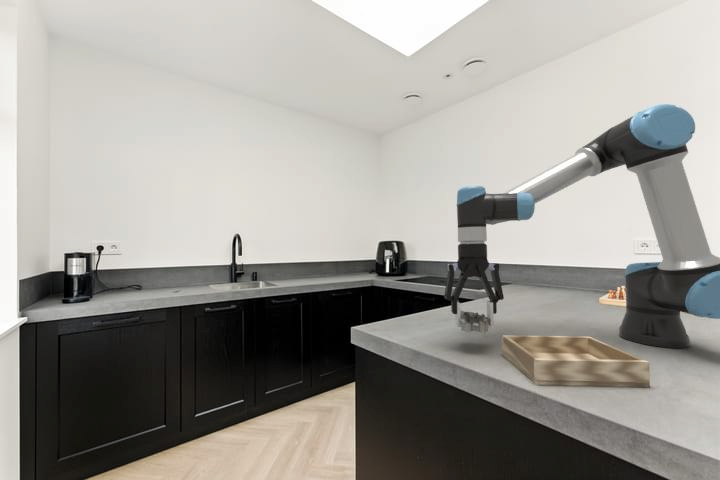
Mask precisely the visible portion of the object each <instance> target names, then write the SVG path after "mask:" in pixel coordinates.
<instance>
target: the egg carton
mask: <svg viewBox="0 0 720 480" xmlns="http://www.w3.org/2000/svg"><path fill="white" fill-rule="evenodd" d="M460 313H461V318H459V319H460V320H461V327H460V329H461V331H462V332H466V333H471V332H475V333H476V332H477V333H480V334H485V333H488V332H489V329H490V326H489V325H488V322H487V320H488V317H487V315H485V314H484V313H482V314H479V313H478V312H471V311H464V310H461V309H460Z"/></svg>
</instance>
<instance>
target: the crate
mask: <svg viewBox="0 0 720 480" xmlns="http://www.w3.org/2000/svg"><path fill="white" fill-rule="evenodd" d="M501 356H503V357H504V358H505V359H506V360H508V362H510V363H511V364H512V365H513V366H514V367H515V368H516V369H518V370H519V371H520V372H521V373H523V375H524V376H526V377H527V378H528V379H529V380H531V381H532V382H533V383H534V384H535V385H536V386H569V387H571V386H572V387H573V386H575V387H577V386H578V387H579V386H580V387H615V388H617V387H619V388H621V387H623V388H624V387H625V388H650V387H651V379H650V378H651V377H650V375H651V373H650V372H651V371H650V370H651V369H650V362H649V361H648V360H645V359H644V358H641V357H638V356H635V355H634V354H631V353H629V352H627V351H625V350H622V349H620V348H618V347H615V346H613V345H611V344H608V343H605V342H603V341H600V339H596V338H594V337H591V336H579V335H578V336H576V335H574V336H572V335H510V334H509V335H508V334H507V335H505V334H502V335H501Z"/></svg>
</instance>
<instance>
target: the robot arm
mask: <svg viewBox="0 0 720 480" xmlns="http://www.w3.org/2000/svg"><path fill="white" fill-rule="evenodd" d="M695 131H696V122H695V119H694V117H693V116H692V114H690V113H689V111H687V110H686V109H685V108H683V107H681V106H680V107H678V106H677V105H675V104H669V103H663V104H662V103H661V104H657V105H653V106H650V107H648V108H646V109H643V110H642V111H638V112H636V114H634V115H633V116H631V117H628V118H626V119H625V120H623V121H622V122H620V123H618V124H616V125H615V126H612V127H610V128H609V129H608V130H606V131H604V132H603V133H602V134H600V135H598V136H597V137H596V138H594V139H593V140H592V141H590V142H588V143H587V144H585V145H583V146H582V147H580V148H578V149H577V150H576V151H575V154H574V155H572V156H569V157H568V158H566V159H565V160H562V161H560V162H559V163H557V164H555V165H552V167H550V168H549V167H548V169H546V170H544V171H543V172H541V173H539V174H537V175H535V176H533V177H531V178H529V179H527V180H526V181H523V182H522V183H520V184H518V185H516V186H514V187H512V188H511V189H508V190H507V191H505V192H503V193H487V191H486V188H485V187H484V186H482V185H469V186H463V187H461V188H459V189H458V190H457V194H456V195H457V196H456V213H457V214H456V215H457V218H456V219H457V242H458V245H457V257H458V259H457V261H456V262H455V263H448V264H447V265H446V268H447V277H446V282H445V283H446V284H445V290H444V295H443V297H444V299H445V300H447V301H448V302H449V301H450V304H451V307H450V308H451V310H450V311H451V313H452V314H453V315H455V316H454V319H455V321H454V322H455V326H456V327H458V328H461V320H460V319H459V318H461V313H460V310H461V302H459V299H460V296H461V294H462V291H463V288H464V287H465V284H466V281H468V278H472V277H476V278H478V279H479V280H480V283H481V285H482V287H483V289H484V292H485V293H486V295H487V297H488V299H489V300H486V317H488V320H487V322H488V325H489V328H490V327H491V328H494V326H495V325H494V322H495V321H494V315H496V314H497V312H498V311H497V303H498V302H499V301H503V300H504V299H505V298H504V297H505V296H504V292H503V287H502V282H501V278H500V264H499V263H496V262H489V260H488V246H487V245H488V244H486V243H485V242H487V240H488V237H487V225H491V226H494V225H497V224H500V223H507V222H510V221H511V222H512V221H514V222H515V221H517V222H520V221H529V220H530V219H531V218H533V215H534V213H535V208H536V206H535V204H537V203H539V202H541V201H543V200H545V199H547V198H548V197H551V196H552V195H554V194H556V193H558V192H561V191H563V190H564V189H566V188H568V187H570V186H572V185H573V184H575V183H577V182H579V181H581V180H584V179H585V178H588V177H596V176H598V175H600V174H602V173H604V172H607V171H610V170H611V169H615V168H618V167H622V166H625V167H626V171H629V172H631V173H634V174H635V175H636V177H637V179H638V183H639V186H640V189H641V191H642V195H643V199H644V203H645V205H646V209H647V211H648V214H649V215H648V216H649V218H650V221H651V225H652V228H653V230H654V233H655V238H656V241H657V244H658V247H659V250H660V253H661V256H662V261H654V262H634V263H630V264H628V265H626V267H625V274H624V278H625V304H626V305H625V309H626V310H625V314H624V316H623V319H622V322H621V324H620V326H619V328H618V335H619V337H620V338H623V339H625V340H627V341H631V342H634V343H639V344H642V345H647V346H653V347H660V348H671V349H686V348H690V347H691V345H690V343H691V342H690V341H691V339H690V336H689V335H688V334H687V331H686V328H685V325H684V323H683V321H682V318H681V313H683V314H684V313H685V314H688V315H689V314H690V315H693V316H695V317H698V318H706V319H707V318H708V319H716V320H718V319H720V257H718V256H717V255H715V254H713V253H712V251H711V248H710V246H709V243H708V238H707V236H706V234H705V233H706V232H705V230H704V226H703V223H702V221H701V218H700V217H701V216H700V215H699V211H698V207H697V205H696V202H695V201H696V200H695V199H694V195H693V192H692V189H691V186H690V184H689V180H688V176H687V174H686V173H687V172H686V170H685V167H684V165H683V160H684V159H685V157H686V156H687V155H688V154H689V150H688V146H687V143H689V142H690V140H692V138H693V135H694V133H695ZM457 268H458V269H459V271H460V274H459V278H458V280H457V282H456V285H455V287H454V289H453V286H454V279H455V272H456V271H457ZM487 269H489V271H490V275H491V276H490V277H491V280H492V284H493V288H494V290H493V289H492V286H491V284H490V282H489V280H488V277H487V274H486V270H487ZM452 292H453V293H452Z"/></svg>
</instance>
